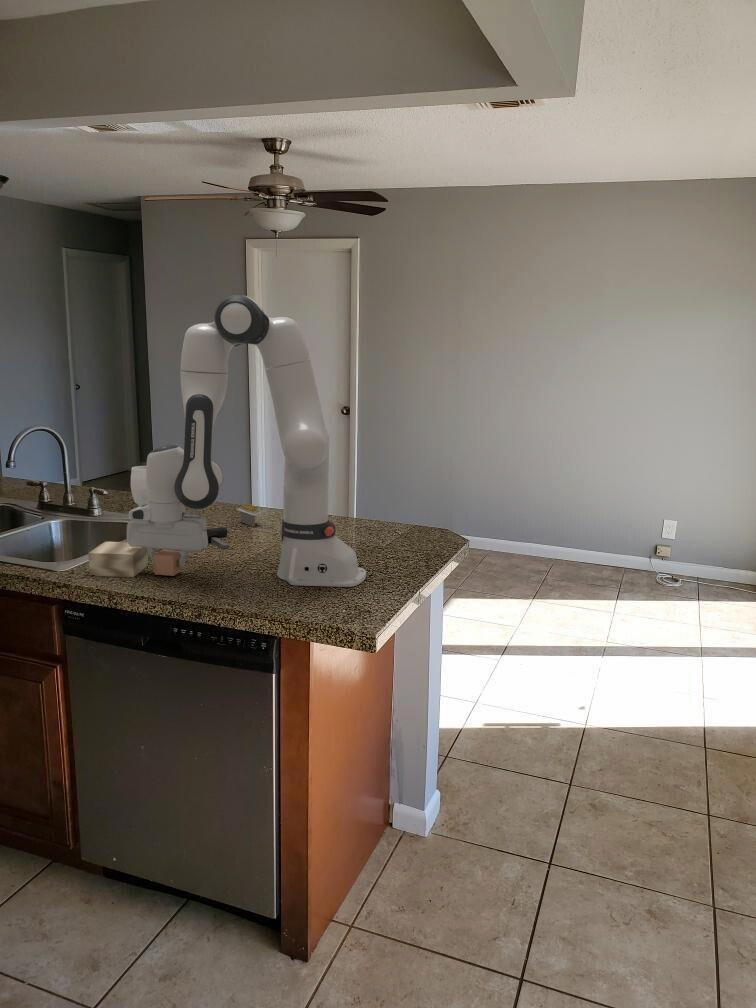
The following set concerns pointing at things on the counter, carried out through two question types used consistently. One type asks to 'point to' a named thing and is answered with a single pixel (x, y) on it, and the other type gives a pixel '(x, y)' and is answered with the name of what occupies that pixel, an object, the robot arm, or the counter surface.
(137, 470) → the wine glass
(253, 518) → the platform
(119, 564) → the birch box
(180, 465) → the robot arm
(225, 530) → the black clamp
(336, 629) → the counter surface
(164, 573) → the terracotta block
